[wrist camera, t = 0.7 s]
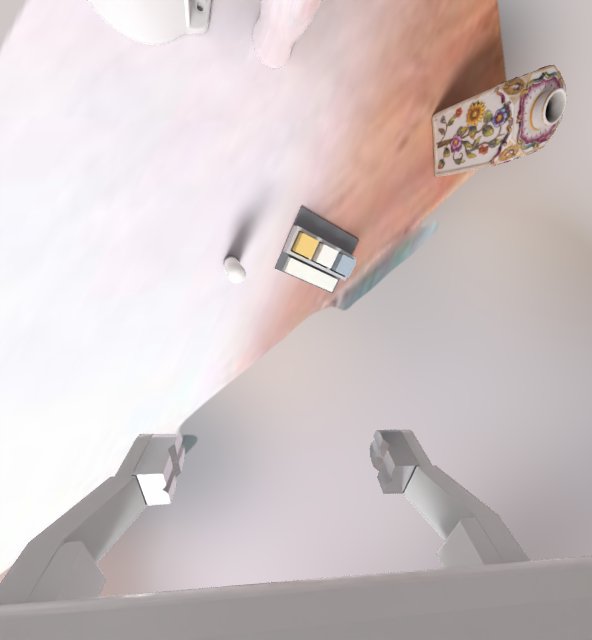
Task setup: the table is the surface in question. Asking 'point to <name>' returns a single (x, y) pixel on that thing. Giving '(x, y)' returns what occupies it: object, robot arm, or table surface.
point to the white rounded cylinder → (234, 269)
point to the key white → (325, 255)
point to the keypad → (325, 235)
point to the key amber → (304, 245)
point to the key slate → (343, 264)
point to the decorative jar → (499, 123)
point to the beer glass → (281, 28)
